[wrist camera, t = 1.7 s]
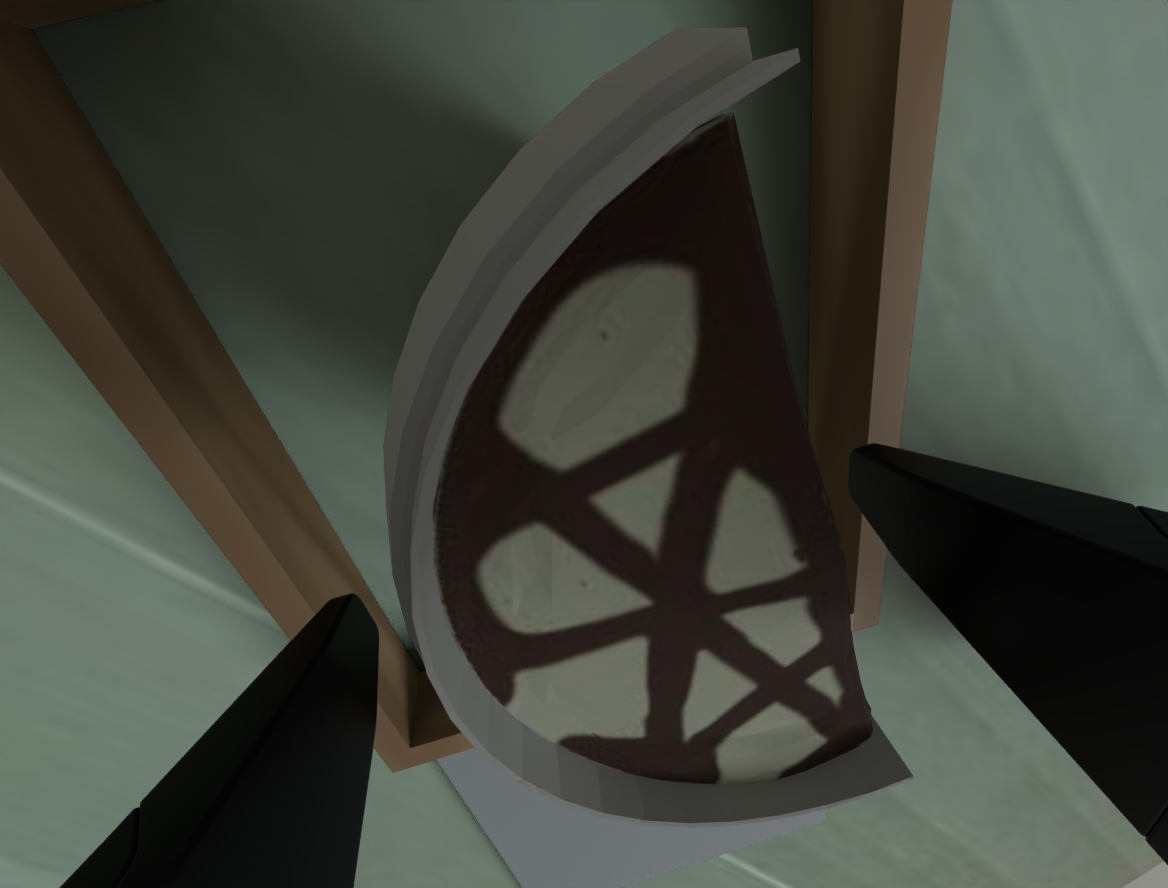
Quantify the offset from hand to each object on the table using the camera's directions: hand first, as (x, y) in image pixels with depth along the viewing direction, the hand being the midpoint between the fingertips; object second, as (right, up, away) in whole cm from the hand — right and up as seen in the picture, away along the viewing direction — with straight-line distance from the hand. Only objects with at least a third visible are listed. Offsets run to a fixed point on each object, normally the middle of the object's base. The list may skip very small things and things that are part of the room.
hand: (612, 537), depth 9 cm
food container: (-1, +3, +6) cm, 7 cm away
